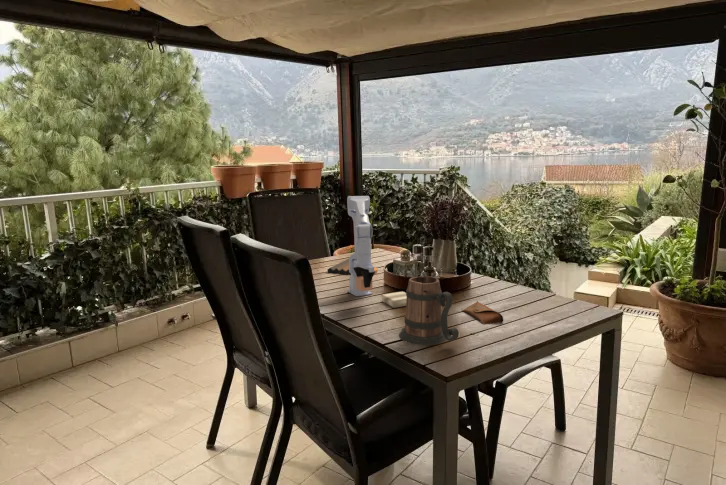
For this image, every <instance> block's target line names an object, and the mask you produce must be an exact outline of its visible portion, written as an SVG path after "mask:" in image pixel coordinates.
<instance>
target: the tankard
mask: <svg viewBox="0 0 726 485" xmlns="http://www.w3.org/2000/svg"><path fill="white" fill-rule="evenodd" d="M407 284H408V285H407V288H406V290H405V291H406V292H405V293H406V296H407V300H406V306H405V316H404V327H403V328H402V330H401V331H400V332H399V333H398V338H399V339H400V340H401V341H403V342H406V343H408V344H412V345H419V346H432V345H433V346H434V345H439V344H442V343H445V342H446V341H448V342H449V341H455V340H457V339H458V338H459V334H460V333H459V330H458V329H457V327H456V326H455V327H451V328H449V327H448V315H449V311H450V309H451V307H452V305H453V301H454V299H453V296H452V293H450V292H448V291H444V292H442V288H441V284H440V279H439V278H437V277H435V276H413V277H411V278H409V279H408V282H407ZM441 306H442V307H444V308H443V309H442V308H441Z"/></svg>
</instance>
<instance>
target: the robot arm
mask: <svg viewBox="0 0 726 485" xmlns="http://www.w3.org/2000/svg"><path fill="white" fill-rule="evenodd" d="M370 199H371V198H370V196H369V195H353V196H352V195H347V198H346V201H347V202H346V203H347V204H346V206H347V214H348V216H349V217H351V218H352V221H353V236H354V239H353V240H354V253H352V254H351V255H350V256H349V258H348V259H349V272H350V273H351V275H349V278H348V279H349V280H348V281H349V283H348V284H349V289H348V290H347V293H350V294H352V295H353V296H355V297H360V296H368V295H372V294H373V293H372V292H371V291H370V290H368V291H360V290H358V289H356V277H358V276H363V280H364V286H365V288H367V287H370V284H371V280H372V281H373V277H374V275H375V274H376V273H375V271H374V267H375V266H374V265H373V263H372V237H373V226H372V223H370V220H369V219H370V218H369V213H370V207H371V200H370Z"/></svg>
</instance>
